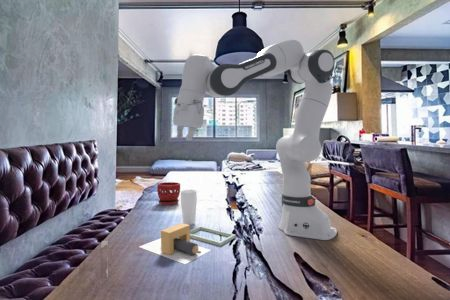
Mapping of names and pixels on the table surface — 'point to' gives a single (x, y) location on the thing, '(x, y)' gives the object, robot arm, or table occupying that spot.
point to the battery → (185, 246)
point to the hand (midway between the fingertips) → (183, 139)
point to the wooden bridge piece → (174, 236)
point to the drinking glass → (188, 206)
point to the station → (177, 255)
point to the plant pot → (168, 193)
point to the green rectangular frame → (229, 235)
